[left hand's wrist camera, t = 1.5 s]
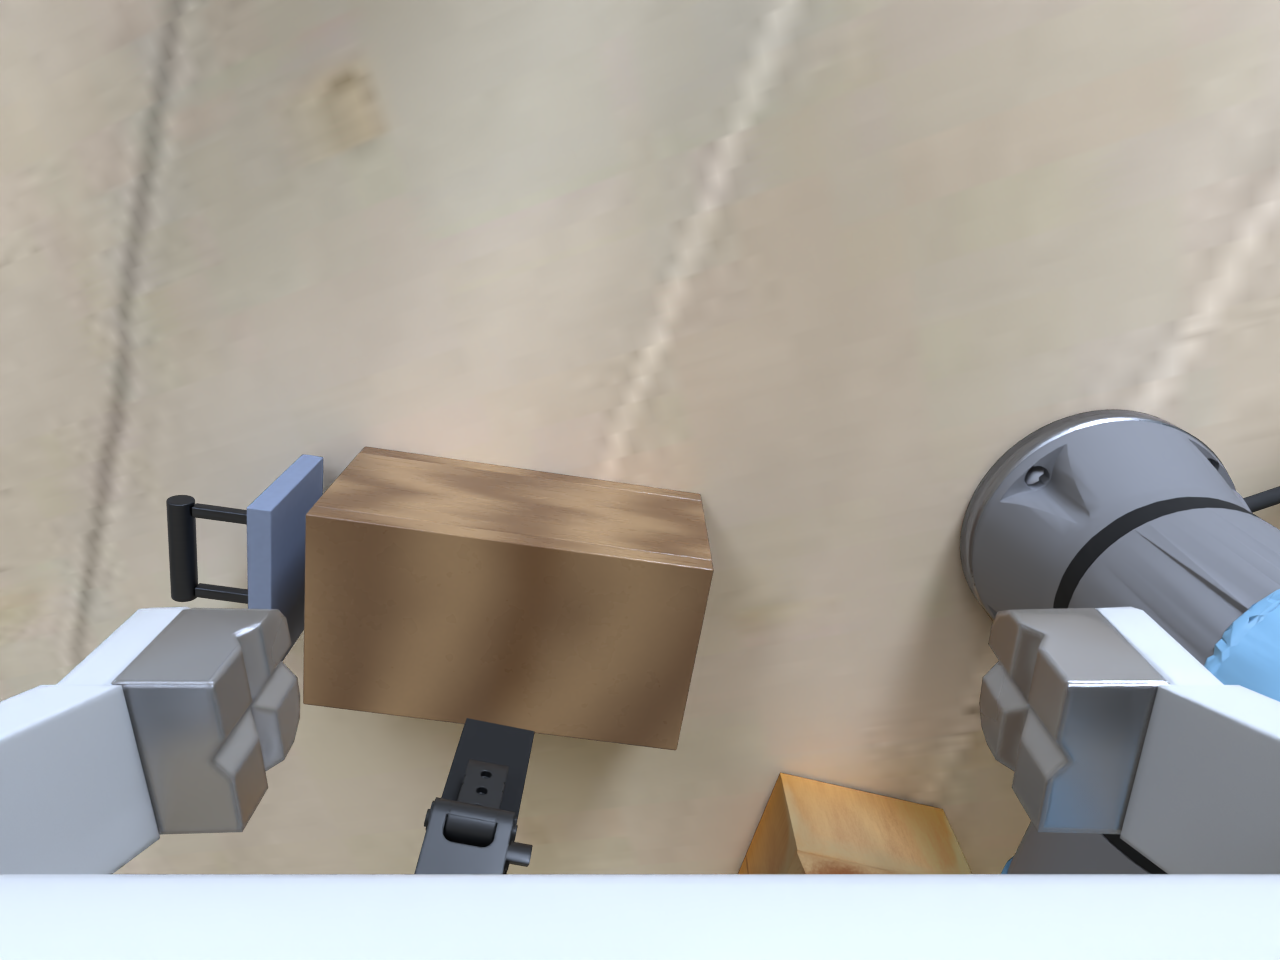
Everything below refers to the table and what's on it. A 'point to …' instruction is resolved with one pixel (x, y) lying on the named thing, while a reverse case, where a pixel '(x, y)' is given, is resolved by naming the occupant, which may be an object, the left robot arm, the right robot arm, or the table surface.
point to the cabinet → (504, 598)
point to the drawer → (254, 544)
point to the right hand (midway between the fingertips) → (472, 860)
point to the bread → (849, 834)
